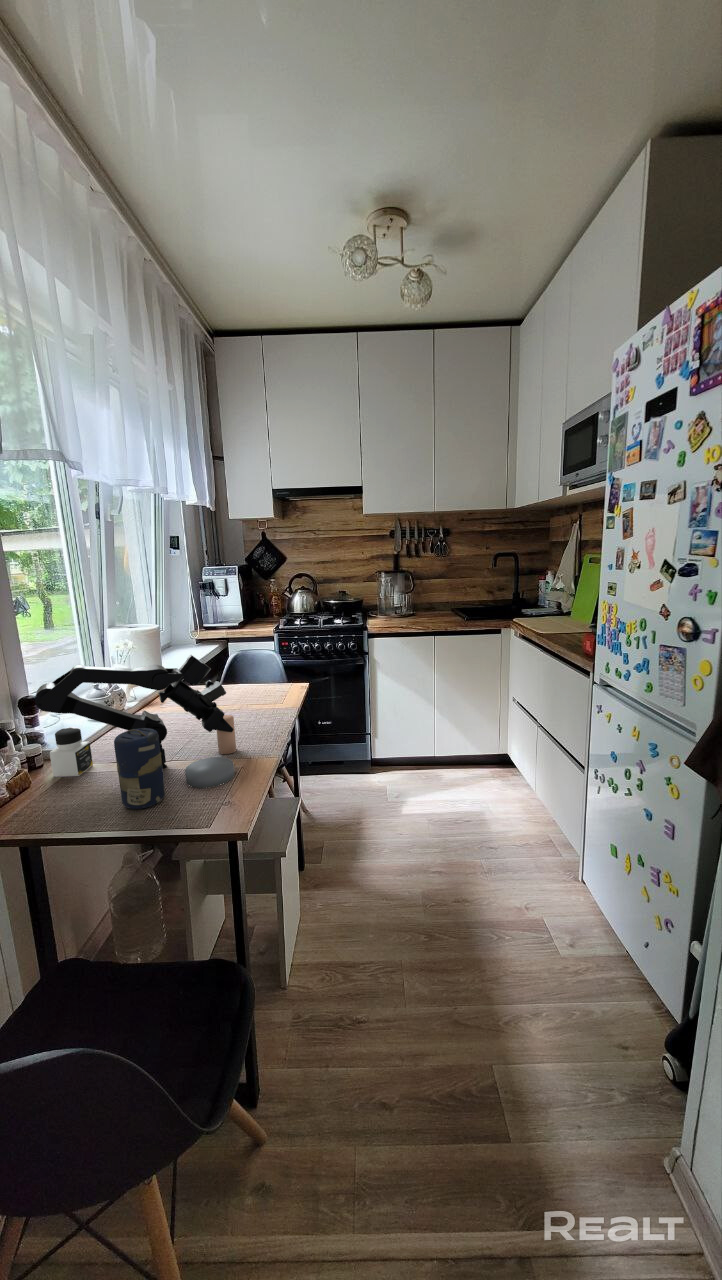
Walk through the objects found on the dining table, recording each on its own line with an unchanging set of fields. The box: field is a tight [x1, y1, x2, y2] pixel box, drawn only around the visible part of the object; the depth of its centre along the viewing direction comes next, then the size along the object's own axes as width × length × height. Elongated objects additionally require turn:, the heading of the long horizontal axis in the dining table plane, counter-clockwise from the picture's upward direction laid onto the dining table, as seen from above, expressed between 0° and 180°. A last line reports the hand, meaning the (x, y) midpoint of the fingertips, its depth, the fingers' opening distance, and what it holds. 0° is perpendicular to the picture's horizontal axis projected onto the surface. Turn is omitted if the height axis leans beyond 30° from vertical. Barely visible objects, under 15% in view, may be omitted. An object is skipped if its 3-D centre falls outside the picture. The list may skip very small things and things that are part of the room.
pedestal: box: [184, 756, 235, 789], centre depth 132 cm, size 12×12×3 cm
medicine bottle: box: [49, 726, 94, 778], centre depth 138 cm, size 7×7×12 cm
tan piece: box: [216, 714, 237, 755], centre depth 148 cm, size 5×5×10 cm
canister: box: [113, 728, 166, 810], centre depth 119 cm, size 10×10×18 cm
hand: (230, 728), depth 148 cm, fingers closed on tan piece, 5 cm apart
